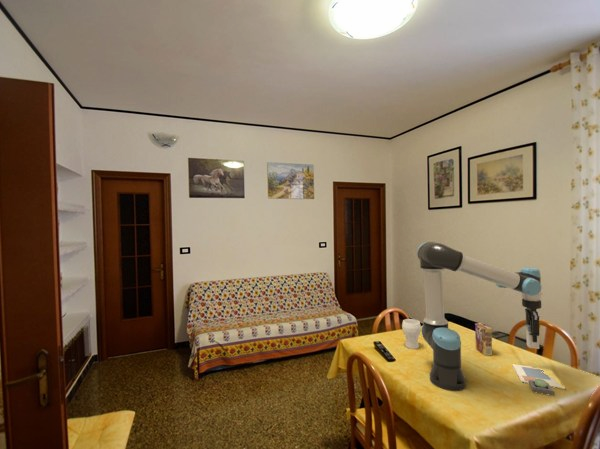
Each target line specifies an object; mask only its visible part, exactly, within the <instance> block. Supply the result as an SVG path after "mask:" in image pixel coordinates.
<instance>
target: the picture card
mask: <svg viewBox="0 0 600 449" xmlns="http://www.w3.org/2000/svg"><path fill="white" fill-rule="evenodd" d="M512 365H513V366H512V367H513V369H514V371H515V373H516V374H517V377H518V376H519V377H518V378H520V379H519V380H520V382H521V383H522V382H524V383H523V384H528V383H529V380H533V381H535V379H542V380H544V381H546V383H548V384H549V385H550V387H551V388H552V387H557V388H556V389H558V388H563V386H561V385H560V384H559V383H558V382H556V380H555V379H554V378H552V377H549V376H548V375H546V374H544V373H543V372H544V371H543V370H540V369H534V368H532V367H533V366H529V365H522V364H513V363H512ZM542 371H543V372H542ZM541 372H542V373H541Z"/></svg>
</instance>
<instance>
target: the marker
mask: <svg viewBox="0 0 600 449" xmlns="http://www.w3.org/2000/svg"><path fill="white" fill-rule="evenodd" d="M525 329H526V330H525V331H526V332H525V333H526V345H527V347H528V348H529V349H532V348H531V336H530V334H531V326H530V325H526V324H525ZM529 333H530V334H529ZM539 349H540V335H539V336H538V350H539Z"/></svg>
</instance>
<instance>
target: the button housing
mask: <svg viewBox="0 0 600 449" xmlns="http://www.w3.org/2000/svg"><path fill="white" fill-rule="evenodd" d="M546 384H547V389H546V388H540V387H536V386H535V381H533V380H529V384H528V385H530V386H529V388H530V389H531V391H532V390H533V391H532V392H533V393H535V392H537V393H536V394H540V393H543V394H542V395H546V394H549V395H548V396H552V395H555V392H554V388H552V387H550V385H549V384H548V383H546Z"/></svg>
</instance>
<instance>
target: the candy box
mask: <svg viewBox="0 0 600 449" xmlns="http://www.w3.org/2000/svg"><path fill="white" fill-rule="evenodd" d="M474 325H475V326H474V327H475V328H474V330H475V333H474V334H475V350H476V351H477V352H479V353H481V355H482V354H483V355H484V356H490V355H491V356H493V332H492V331H493V330H492V327H491V326H487V325H486V324H483V323H482V322H476V323H474Z"/></svg>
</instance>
